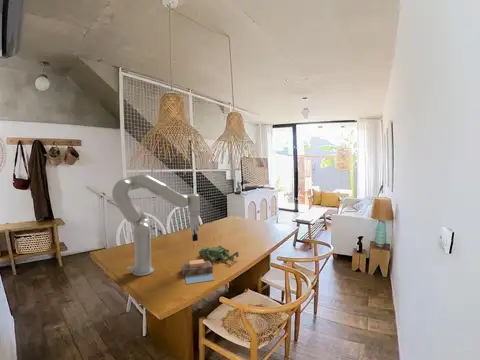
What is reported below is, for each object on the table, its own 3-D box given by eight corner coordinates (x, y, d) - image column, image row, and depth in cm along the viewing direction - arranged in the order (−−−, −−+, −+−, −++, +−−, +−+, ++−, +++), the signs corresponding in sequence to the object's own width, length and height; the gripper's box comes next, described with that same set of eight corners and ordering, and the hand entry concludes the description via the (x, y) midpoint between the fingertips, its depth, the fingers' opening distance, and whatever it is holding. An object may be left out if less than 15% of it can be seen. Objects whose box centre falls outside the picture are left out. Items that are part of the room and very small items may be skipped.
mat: (186, 284, 143) (186, 283, 143) (184, 276, 153) (184, 276, 153) (214, 280, 148) (214, 279, 148) (211, 273, 157) (211, 272, 157)
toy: (243, 256, 184) (208, 252, 199) (242, 246, 184) (208, 243, 198) (228, 267, 166) (191, 261, 180) (227, 255, 166) (190, 251, 180)
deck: (182, 276, 153) (182, 270, 152) (181, 270, 162) (181, 264, 162) (212, 272, 158) (212, 266, 158) (209, 266, 167) (209, 260, 167)
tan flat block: (190, 267, 156) (189, 264, 156) (188, 264, 162) (188, 260, 162) (204, 265, 159) (204, 262, 159) (203, 262, 164) (203, 259, 164)
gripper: (187, 211, 173) (188, 238, 175) (189, 215, 159) (190, 244, 160) (198, 210, 175) (199, 236, 177) (201, 214, 161) (202, 243, 162)
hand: (195, 240), depth 169 cm, fingers closed
